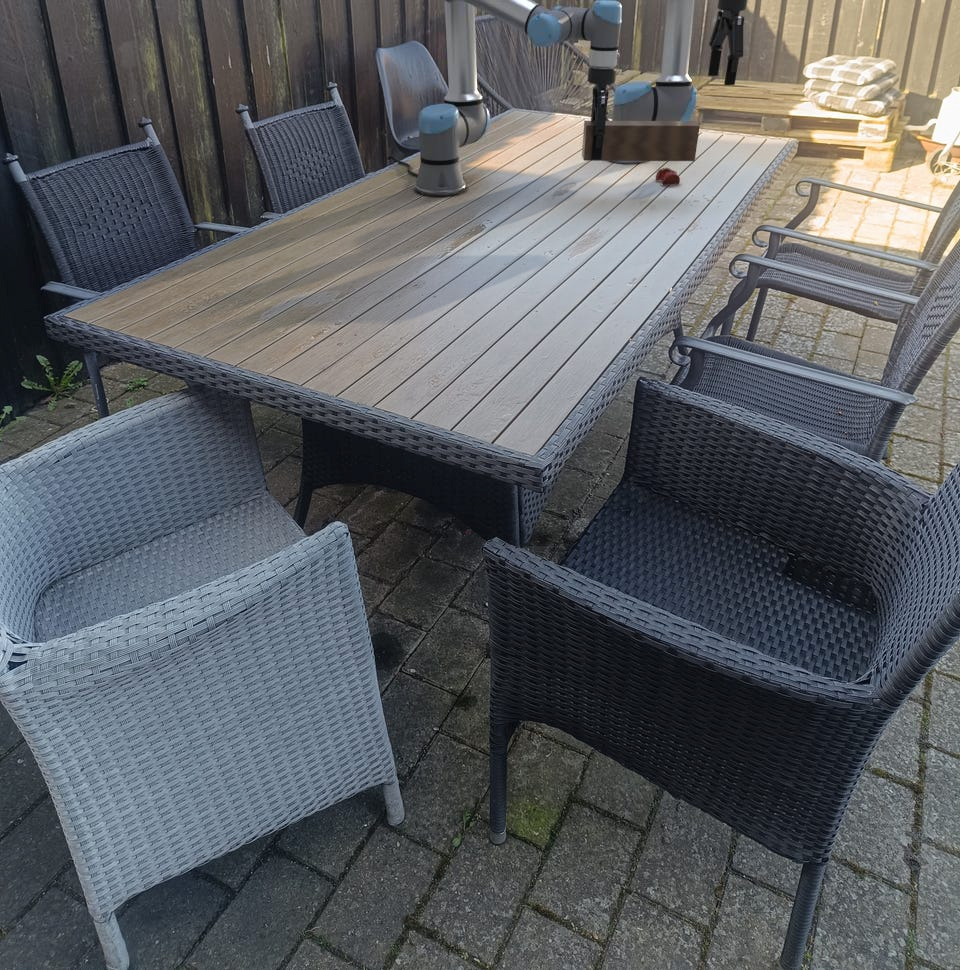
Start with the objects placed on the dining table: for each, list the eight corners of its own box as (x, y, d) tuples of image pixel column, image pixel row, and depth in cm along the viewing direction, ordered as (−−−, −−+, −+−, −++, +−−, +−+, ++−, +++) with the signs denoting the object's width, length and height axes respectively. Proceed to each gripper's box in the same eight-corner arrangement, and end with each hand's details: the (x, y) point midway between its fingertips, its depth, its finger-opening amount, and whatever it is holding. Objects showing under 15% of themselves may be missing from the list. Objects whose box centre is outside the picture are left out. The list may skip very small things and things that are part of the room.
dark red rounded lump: (671, 164, 266) (682, 171, 259) (670, 177, 268) (681, 185, 262) (654, 166, 265) (665, 173, 258) (653, 179, 267) (664, 187, 261)
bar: (583, 160, 239) (586, 125, 233) (581, 155, 243) (584, 120, 238) (694, 161, 239) (699, 125, 233) (690, 156, 243) (695, 121, 238)
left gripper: (621, 73, 220) (612, 165, 233) (612, 60, 234) (604, 147, 248) (592, 73, 219) (585, 165, 233) (585, 60, 234) (578, 147, 248)
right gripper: (765, -3, 213) (750, 88, 226) (731, -13, 234) (718, 71, 246) (737, -2, 213) (723, 89, 225) (705, -12, 233) (694, 72, 245)
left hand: (595, 155), depth 241 cm, fingers closed on bar, 5 cm apart
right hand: (720, 80), depth 236 cm, fingers open, 13 cm apart
